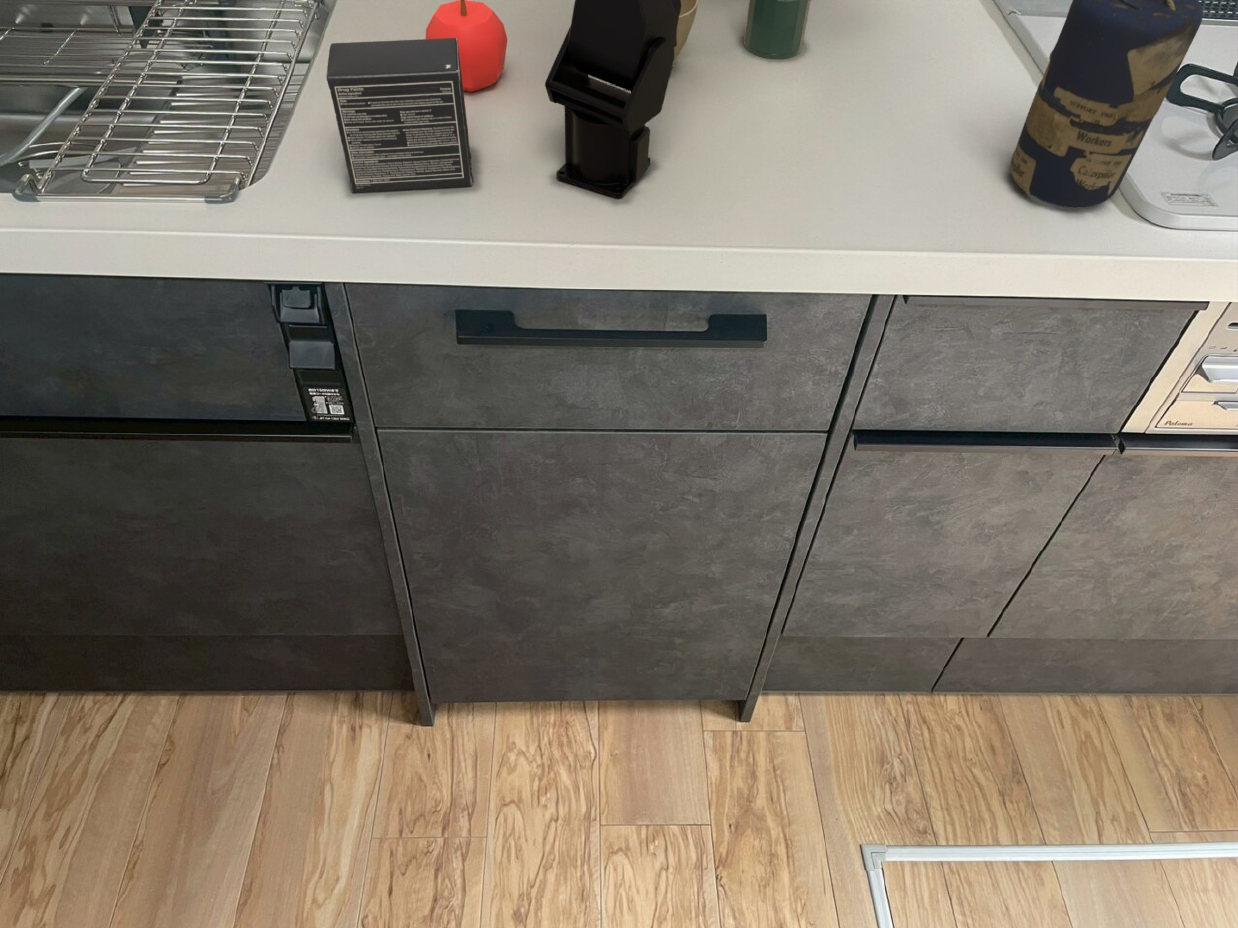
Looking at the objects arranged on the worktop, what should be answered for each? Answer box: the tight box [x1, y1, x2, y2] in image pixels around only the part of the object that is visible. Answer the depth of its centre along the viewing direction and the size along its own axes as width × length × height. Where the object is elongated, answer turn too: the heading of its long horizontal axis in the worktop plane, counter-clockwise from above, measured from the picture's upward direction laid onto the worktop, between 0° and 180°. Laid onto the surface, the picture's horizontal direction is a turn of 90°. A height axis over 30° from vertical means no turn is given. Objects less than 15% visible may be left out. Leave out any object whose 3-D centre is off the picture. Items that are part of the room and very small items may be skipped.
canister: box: [1009, 0, 1204, 209], centre depth 78 cm, size 10×10×18 cm
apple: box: [424, 0, 509, 93], centre depth 91 cm, size 8×8×8 cm
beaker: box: [743, 0, 812, 60], centre depth 98 cm, size 6×6×6 cm
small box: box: [325, 38, 474, 194], centre depth 79 cm, size 11×6×10 cm, turn 98°
